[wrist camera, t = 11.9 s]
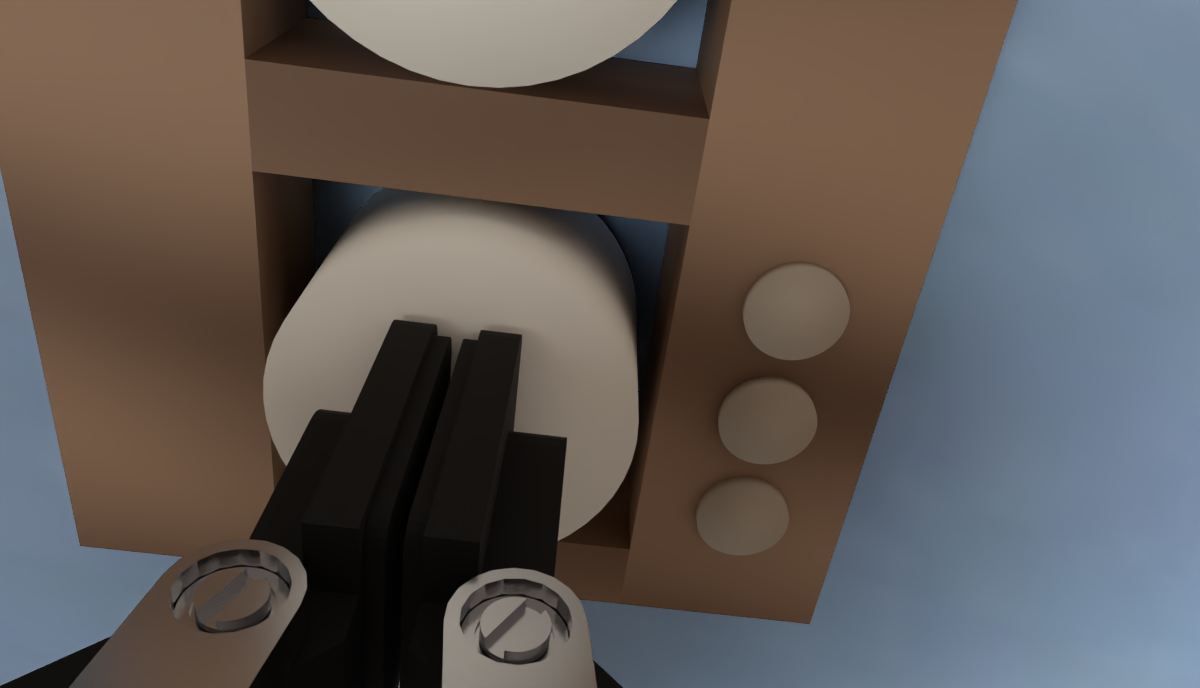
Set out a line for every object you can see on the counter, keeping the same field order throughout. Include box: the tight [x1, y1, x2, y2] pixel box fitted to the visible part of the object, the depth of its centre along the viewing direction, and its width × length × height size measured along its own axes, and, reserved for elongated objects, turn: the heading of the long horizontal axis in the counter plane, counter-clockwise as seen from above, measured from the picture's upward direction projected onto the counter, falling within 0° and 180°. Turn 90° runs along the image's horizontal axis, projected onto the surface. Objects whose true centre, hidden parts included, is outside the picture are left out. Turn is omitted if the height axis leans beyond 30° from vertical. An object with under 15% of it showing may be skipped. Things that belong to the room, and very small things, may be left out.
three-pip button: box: [263, 187, 639, 541], centre depth 14 cm, size 5×5×3 cm
